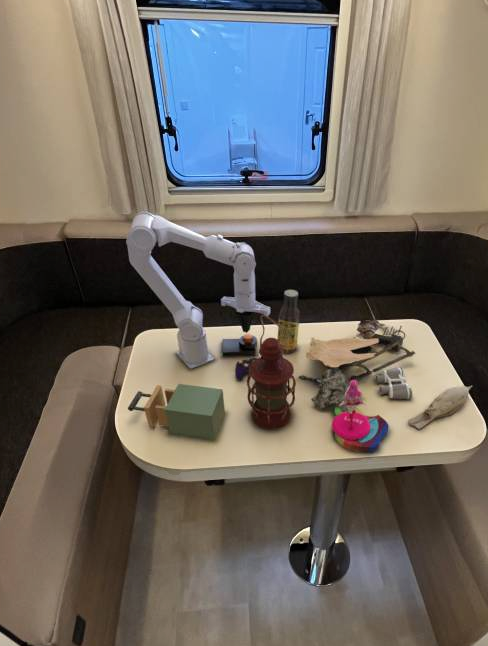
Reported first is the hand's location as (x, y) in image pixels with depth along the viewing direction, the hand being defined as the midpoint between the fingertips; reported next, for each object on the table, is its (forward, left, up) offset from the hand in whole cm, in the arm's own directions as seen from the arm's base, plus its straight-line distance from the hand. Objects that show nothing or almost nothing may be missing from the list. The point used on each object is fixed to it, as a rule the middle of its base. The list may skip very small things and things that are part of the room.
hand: (246, 330), depth 130 cm
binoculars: (+36, +26, -9) cm, 45 cm away
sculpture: (+51, +31, -4) cm, 60 cm away
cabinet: (+18, -26, -9) cm, 33 cm away
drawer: (+11, -32, -8) cm, 35 cm away
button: (-2, +2, -6) cm, 7 cm away
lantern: (+26, -9, -9) cm, 29 cm away
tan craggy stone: (+21, +21, -4) cm, 30 cm away
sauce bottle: (+4, +12, -9) cm, 16 cm away
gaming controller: (+7, -4, -9) cm, 12 cm away
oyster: (+15, +40, -3) cm, 43 cm away
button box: (-4, -1, -9) cm, 10 cm away
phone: (+18, +18, -8) cm, 27 cm away
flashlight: (+15, +40, -9) cm, 44 cm away
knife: (+24, +13, -9) cm, 29 cm away
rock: (+26, +5, -8) cm, 28 cm away
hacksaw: (+31, +29, -8) cm, 43 cm away
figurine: (+42, +4, -7) cm, 43 cm away
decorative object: (+50, +9, -8) cm, 51 cm away
